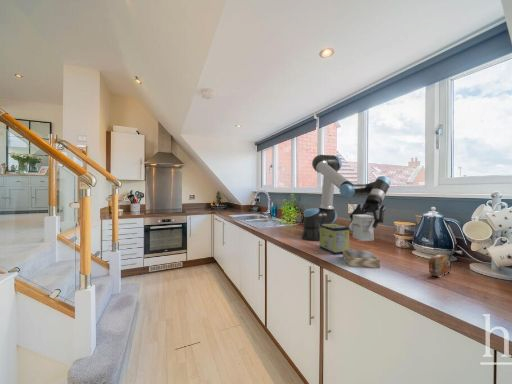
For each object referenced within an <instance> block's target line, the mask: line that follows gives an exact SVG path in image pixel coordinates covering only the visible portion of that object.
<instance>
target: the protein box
mask: <svg viewBox="0 0 512 384" xmlns="http://www.w3.org/2000/svg"><path fill="white" fill-rule="evenodd" d="M319 230H320V240H319V249H322V250H323V251H326V252H327V253H330V254H332V255H343V250H350V228H349V226H344V225H340V224H336V223H331V224H320V225H319Z"/></svg>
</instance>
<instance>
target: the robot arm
mask: <svg viewBox="0 0 512 384" xmlns="http://www.w3.org/2000/svg"><path fill="white" fill-rule="evenodd" d="M311 162H312V163H311V166H312V169H313V170H314V171H315V172H317V173H320V174H321V175H322V176H323V177H322V187H321V188H322V189H321V190H322V191H321V203H320V205H319V206H318V207H310V208H306V209H304V210H303V230H302V233H301V239H302V240H304V241H309V242H318V241H319V242H320V224H335V222H336V220H337V218H338V213H337V211H336V210H335V207H334V204H333V202H334V195H335V194H334V192H335V187H336V188H338V191H339V194H340V195H341V196H342V197H344V198H351V197H352V198H353V197H354V198H355V197H358V198H361V199H362V198H366V199H365V202H364V204H361V203H359V204H357V206H356V207H355V209H354V210H353V211H352V212H351V214H349V218H350V219H351V220H350V222H349V226H348V227H349V231H350V232H351V231H352V232H353V215H359V214H365V215H367V213H371V214H372V216H374V220H373V221H372V223H371V225H370V227H369V229H368V231H369V233H370V234H372V232H373V230H374V231H375V229H376V228H377V227H378V225H379V223H380V224H383V223H384V219H385V217H384V216H385V211H386V206H385V205H382V203H383V201H384V199H385V197H386V194H387V192H388V190H389V188H390V185H391V179H390V178H389V177H387V176H384V175H380V176H378V177H376V179H375V181H372V182H368V183H364V184H363V183H362V184H361V183H359V184H358V183H352V182H351V181H349V180H348V179H347V178H346V177H345V176H343V175H342V174H341V173H339V172H338V171H340V169H341V168H342V166H343V165H342V160H341V158H340V157H339V156H337V155H333V154H332V155H331V154H318V155H316V156H314V158H313V159H312V161H311ZM378 210H379V213H378V212H377V211H378ZM377 214H379V216H378V215H377Z"/></svg>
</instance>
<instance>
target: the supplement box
mask: <svg viewBox="0 0 512 384" xmlns="http://www.w3.org/2000/svg"><path fill="white" fill-rule="evenodd" d="M373 220H374V215H370V214H359V215H353V230H352V238H354V239H356V240H358V241H360V242H366V241H367V242H368V241H369V242H370V241H371V242H372V241H374V240H375V237H374V236H375V235H374V233H375V232H374V231H375V229H374V230H373V232H372V234H370V233H369V231H368V229H369V227H370V225H371V223H372V221H373ZM374 221H375V220H374Z"/></svg>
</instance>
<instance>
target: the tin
mask: <svg viewBox="0 0 512 384" xmlns="http://www.w3.org/2000/svg"><path fill="white" fill-rule="evenodd" d="M428 269H429V274H430V275H431V276H433V277H436V276H437V278H440V277H439V276H441V275H443V274H445V273H448V272H449V273H450V272H451V269H452V261H451V257H450V256H449V254H442V253H439V254H436V255H434V256H431V257H430V258H429V260H428ZM449 273H448V274H449Z"/></svg>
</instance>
